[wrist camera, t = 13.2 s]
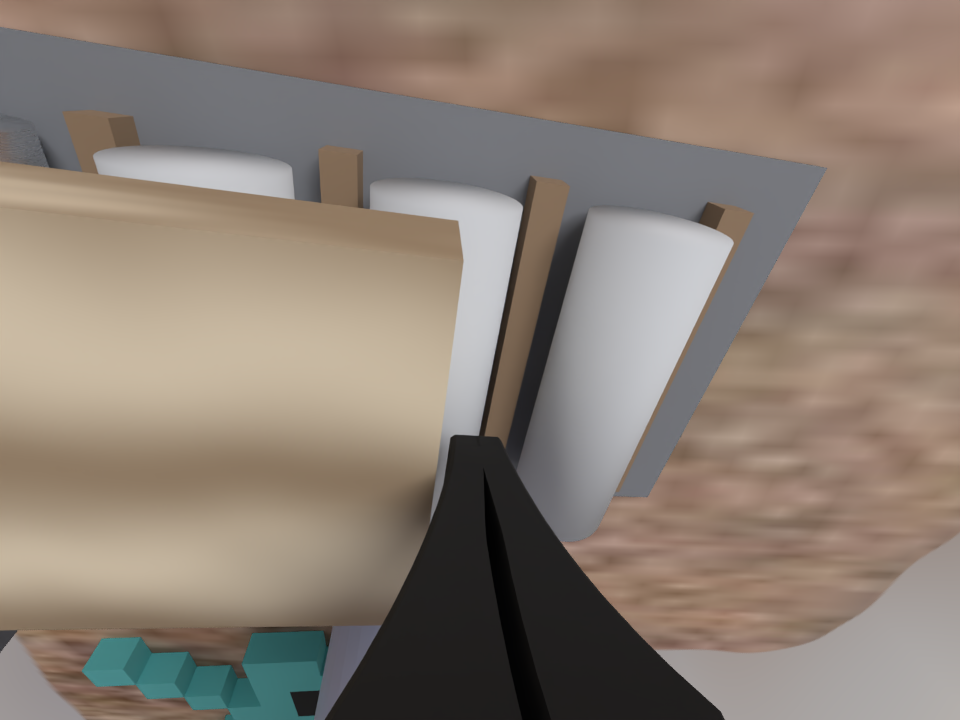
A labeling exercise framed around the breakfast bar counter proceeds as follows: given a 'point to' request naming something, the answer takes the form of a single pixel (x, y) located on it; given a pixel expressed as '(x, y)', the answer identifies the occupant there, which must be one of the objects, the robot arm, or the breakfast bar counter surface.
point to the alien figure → (223, 675)
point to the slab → (214, 403)
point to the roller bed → (434, 151)
